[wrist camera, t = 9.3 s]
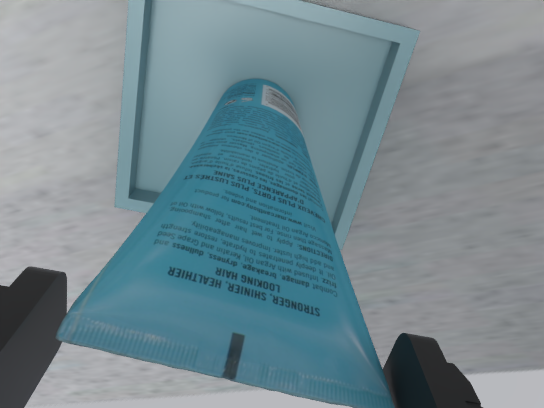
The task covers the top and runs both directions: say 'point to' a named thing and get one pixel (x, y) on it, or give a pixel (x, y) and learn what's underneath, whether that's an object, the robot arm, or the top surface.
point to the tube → (238, 268)
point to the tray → (257, 65)
